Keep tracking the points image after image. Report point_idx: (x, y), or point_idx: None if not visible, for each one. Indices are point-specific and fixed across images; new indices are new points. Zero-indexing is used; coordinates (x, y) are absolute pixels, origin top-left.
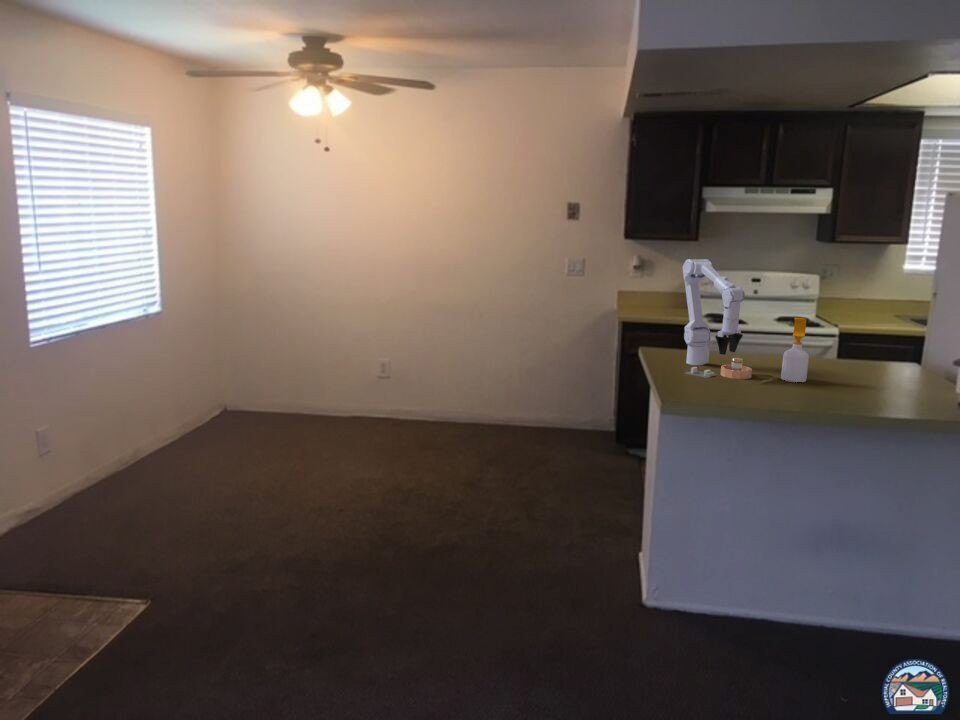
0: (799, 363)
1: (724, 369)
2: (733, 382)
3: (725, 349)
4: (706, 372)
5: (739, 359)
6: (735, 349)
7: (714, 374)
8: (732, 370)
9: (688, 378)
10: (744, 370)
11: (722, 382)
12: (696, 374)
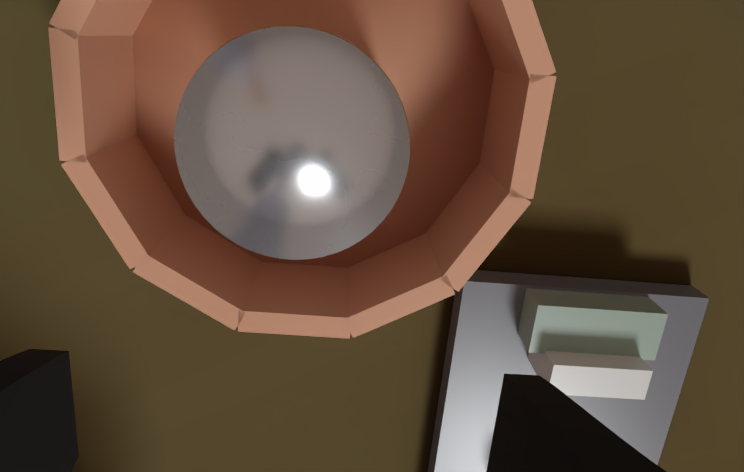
0: None
1: (509, 220)
2: (582, 9)
3: (624, 446)
4: (643, 361)
5: (321, 83)
6: (16, 375)
7: (532, 294)
8: (549, 82)
9: (712, 438)
10: (107, 56)
11: (672, 113)
12: None
